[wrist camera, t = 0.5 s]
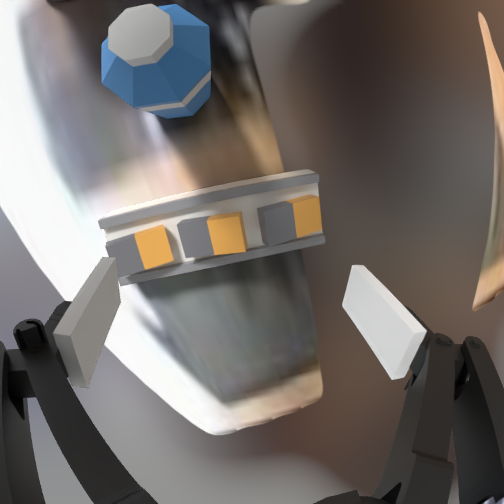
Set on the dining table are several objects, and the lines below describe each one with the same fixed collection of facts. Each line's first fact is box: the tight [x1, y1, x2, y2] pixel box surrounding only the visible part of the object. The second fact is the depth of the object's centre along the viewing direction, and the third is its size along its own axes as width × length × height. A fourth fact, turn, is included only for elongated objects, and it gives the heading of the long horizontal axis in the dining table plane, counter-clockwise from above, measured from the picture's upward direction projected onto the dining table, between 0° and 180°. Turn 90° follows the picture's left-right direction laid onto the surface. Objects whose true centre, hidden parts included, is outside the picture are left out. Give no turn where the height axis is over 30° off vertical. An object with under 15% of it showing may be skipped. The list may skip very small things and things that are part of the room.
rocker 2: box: [177, 211, 248, 258], centre depth 38 cm, size 5×8×2 cm, turn 100°
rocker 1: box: [105, 224, 174, 278], centre depth 38 cm, size 5×8×2 cm, turn 100°
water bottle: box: [101, 4, 211, 119], centre depth 25 cm, size 9×9×25 cm
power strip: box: [98, 169, 326, 286], centre depth 42 cm, size 10×30×5 cm, turn 100°
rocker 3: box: [257, 194, 322, 247], centre depth 39 cm, size 5×8×2 cm, turn 100°
